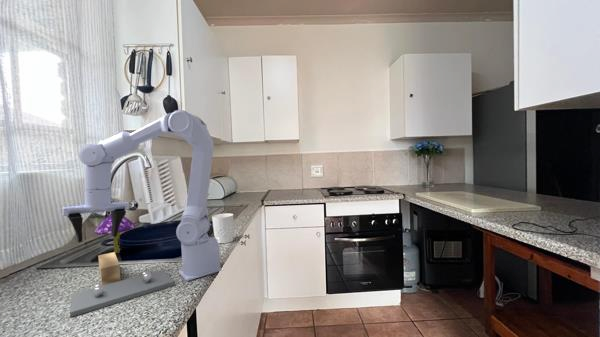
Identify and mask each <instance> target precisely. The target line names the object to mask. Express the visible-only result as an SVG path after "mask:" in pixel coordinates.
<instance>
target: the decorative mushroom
mask: <svg viewBox="0 0 600 337" xmlns="http://www.w3.org/2000/svg"><path fill="white" fill-rule="evenodd" d="M136 227H137V225H136V224H135V223H134V222H133V221H132V220H131V219H129V218H128V217H126V216H124V218H123V219H122V221H121V223H120V226H119V228H118V232H117V236H116V237H113V242H112V243H113V248H114V251H113V252H115V254H119V253H121V252H120V250H121V247H120V244H119V245H118V239H119V240H120V237H121V233H124V232H127V231H131V230H133V229H135V228H136ZM93 233H94V234H96V235H112V214H111V213H110V214H109V215H108V216H107V217H106V218H105V219H103V221H102V222H101V223H100V224H98V226H97V227H96V228H95V230H93ZM119 247H120V248H119Z"/></svg>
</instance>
